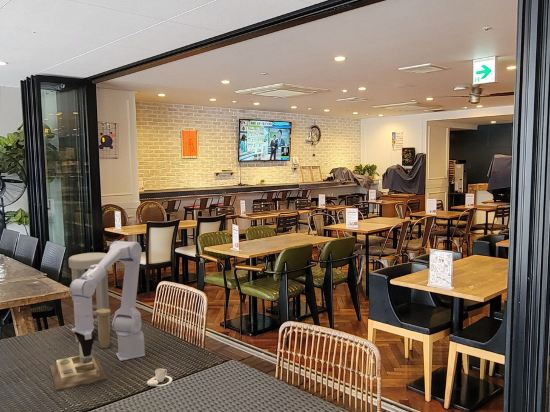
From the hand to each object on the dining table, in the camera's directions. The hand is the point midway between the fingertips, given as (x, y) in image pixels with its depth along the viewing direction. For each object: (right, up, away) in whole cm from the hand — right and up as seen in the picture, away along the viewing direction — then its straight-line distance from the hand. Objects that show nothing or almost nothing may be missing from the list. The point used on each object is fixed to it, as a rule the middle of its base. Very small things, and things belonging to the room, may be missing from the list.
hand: (86, 353), depth 164 cm
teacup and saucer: (+22, -10, 0) cm, 24 cm away
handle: (-4, -7, +31) cm, 32 cm away
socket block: (-6, -9, +7) cm, 13 cm away
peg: (0, -3, 0) cm, 3 cm away
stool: (-13, -6, +43) cm, 45 cm away
